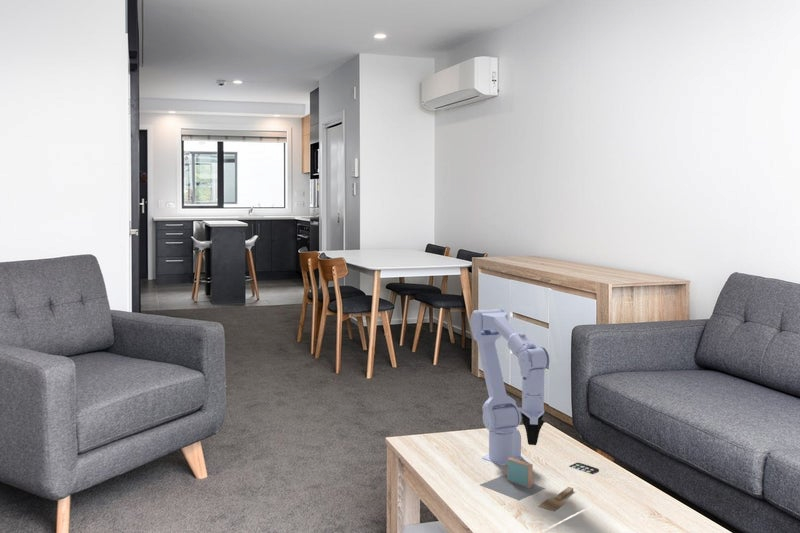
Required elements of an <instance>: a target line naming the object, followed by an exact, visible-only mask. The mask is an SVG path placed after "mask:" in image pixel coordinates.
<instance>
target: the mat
mask: <svg viewBox="0 0 800 533" xmlns="http://www.w3.org/2000/svg"><path fill="white" fill-rule="evenodd" d="M479 486H482V487H484V488H487V489H489V490H492V491H494V492H497V493H499V494H502V495H504V496H506V497H509V498H512V499H515V500H517V501H521V500H523V499H526V498H527V497H529V496H532V495H535V494H537V493H538V492H541V491H543V490H546V488H545V487H544V486H540V485H537V484H536V483H532V487H530V488H526V487H524V486H521V485H518V484H516V483H513V482H510V481H508V480H507V473H506V474H502V475H501V476H500V475H499V476H498V477H495V478H493V479H490V480H488V481H485V482H483V483H480V484H479Z"/></svg>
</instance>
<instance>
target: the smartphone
mask: <svg viewBox="0 0 800 533" xmlns="http://www.w3.org/2000/svg"><path fill="white" fill-rule="evenodd" d="M568 467H570V468H571V469H575V470H578V471H581V472H584V473H587V474H590V475H593V474H595V473H597V472H599V471H600V470H599V468H597V467H594V466H591V465H589V464H585V463H581V462H575V463H573V464H571V465H568Z"/></svg>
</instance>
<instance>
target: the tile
mask: <svg viewBox="0 0 800 533" xmlns="http://www.w3.org/2000/svg"><path fill="white" fill-rule="evenodd" d="M533 471H534V470H533V463H529V462H527V461H525V460H524V461H523V460H522V459H519V460H518V459H515V458H512V457H511V458H508V464H507V473H506V474H507V480H508V481H510V482H513V483H516V484H518V485H521V486H524V487H526V488H530V487H532V484H533Z"/></svg>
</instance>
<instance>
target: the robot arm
mask: <svg viewBox="0 0 800 533" xmlns="http://www.w3.org/2000/svg"><path fill="white" fill-rule="evenodd" d="M469 325H470V331H471V334H472V338H473V340H474V341H476V343H477V347H478V348H477V349H478V352H479V353H478V354H479V357H480V362H481V368H482V370H483V375H484V380H485V384H486V385H485V386H486V389H487V394H488V399H486V400H485V402H483V405H482V406H481V407H482V422H483V425H484V427H485V428H486V429H487V431H488V454H487V455H485V456H482V459H483V460H485V461H488V462H491V463H494V464H496V465H499V466H501V467H503V466H508V458H511V457H512V458H515V459H518V460H522V459H524V456H522V434H521V433H520V431H519V429H518V428H519V426H520V424H521V422H522V423H523V426H524V429H525V433H526V441H527V444H528V445H529V446H537V444H538V440H539V436H540V435H539V434H540V431H541V429H542V427H543V425H544V423H545V421H544V419H543V417H544V413H545V408H544V407H545V406H544V405H545V400H544V399H545V370H546V369H548V368H549V365H550V355H549V353H548V351H547V349H546V347H544V346H536V345H535V343H534V342H532V340H531V339H529V337H528V336H527V335H526V334H525V333H524V332H520V331H519V332H518V331H516V329H515V328H514V326H513V325H512V324H511V322H510V321H509V314H508V313H507V312H506V311H505V309H504V308H497V309H496V308H495V309H479V310H478V309H475V310H473V311H472V313H471V315H470V319H469ZM501 337H502V338H504V339H505V340H506V341H507V347H508V349H509V350H510V351H511V352H512V353H513V354H514V355H515V356H516V358H518V365H519V368H520V376H521V377H522V380H521V381H522V382H521V384H522V387H521V391H522V392H521V407H520V406H517V402H516V399H514V398H512V397H511V396H509V395H508V394H507V390H506V386H505V381H504V378H503V372H502V369H501V363H500V361H499V360H500V359H499V354H498V351H497V347H496V341H497V340H498V339H500V338H501Z"/></svg>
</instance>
